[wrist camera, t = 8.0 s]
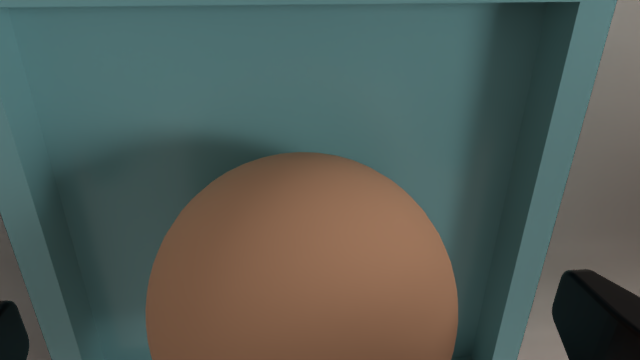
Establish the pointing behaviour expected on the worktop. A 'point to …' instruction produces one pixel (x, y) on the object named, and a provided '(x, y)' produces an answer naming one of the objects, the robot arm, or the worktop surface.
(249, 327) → the ball
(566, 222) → the worktop surface
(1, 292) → the worktop surface
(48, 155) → the coaster tray
